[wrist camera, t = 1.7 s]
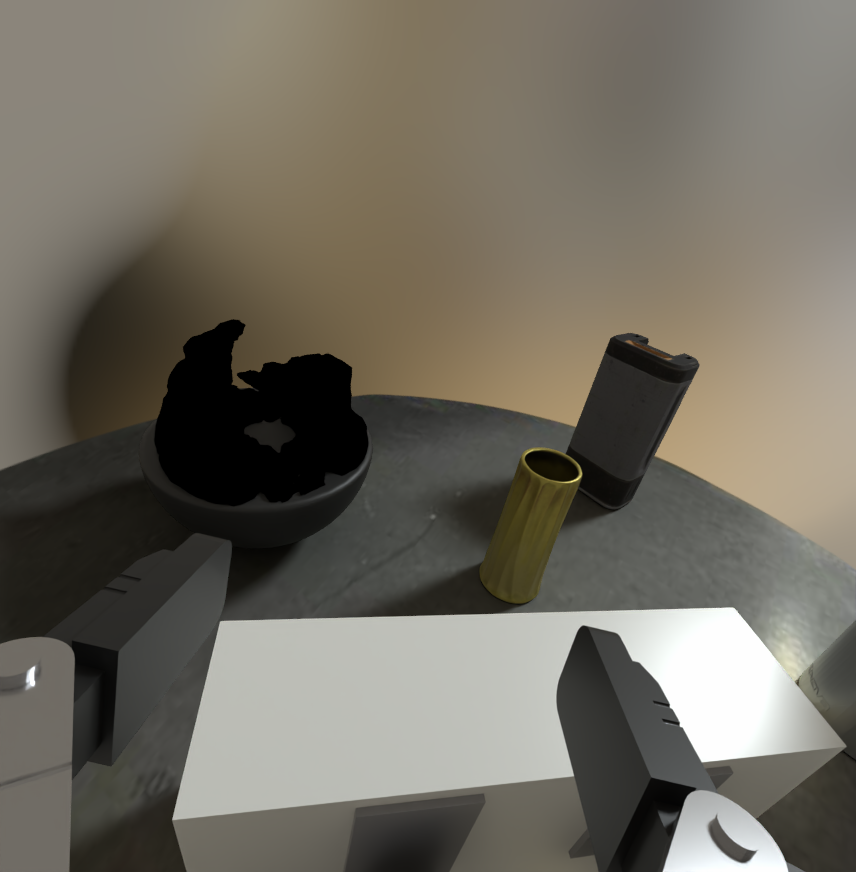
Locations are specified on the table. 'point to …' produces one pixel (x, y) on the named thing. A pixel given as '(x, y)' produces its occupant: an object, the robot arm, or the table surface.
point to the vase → (529, 524)
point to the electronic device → (627, 416)
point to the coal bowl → (255, 445)
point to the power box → (457, 738)
